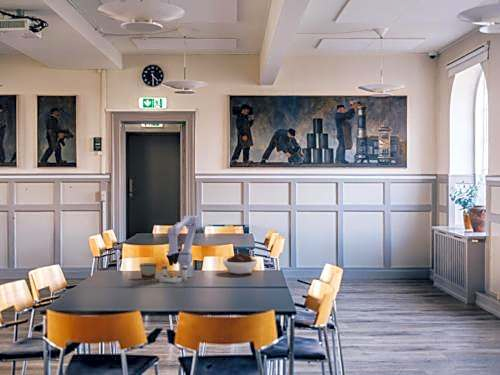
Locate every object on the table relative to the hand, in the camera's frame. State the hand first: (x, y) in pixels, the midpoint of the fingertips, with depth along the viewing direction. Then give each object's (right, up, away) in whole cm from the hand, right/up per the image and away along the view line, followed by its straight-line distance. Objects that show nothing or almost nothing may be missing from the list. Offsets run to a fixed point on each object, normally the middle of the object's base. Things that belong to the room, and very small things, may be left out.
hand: (173, 264), depth 402 cm
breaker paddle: (0, -7, -5) cm, 9 cm away
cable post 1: (-6, -10, +1) cm, 12 cm away
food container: (-17, -10, +7) cm, 22 cm away
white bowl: (+45, -10, +29) cm, 55 cm away
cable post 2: (+8, -10, -4) cm, 14 cm away
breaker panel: (-1, -10, -7) cm, 12 cm away
